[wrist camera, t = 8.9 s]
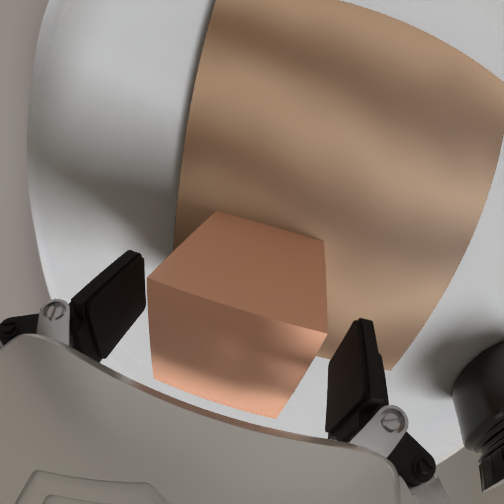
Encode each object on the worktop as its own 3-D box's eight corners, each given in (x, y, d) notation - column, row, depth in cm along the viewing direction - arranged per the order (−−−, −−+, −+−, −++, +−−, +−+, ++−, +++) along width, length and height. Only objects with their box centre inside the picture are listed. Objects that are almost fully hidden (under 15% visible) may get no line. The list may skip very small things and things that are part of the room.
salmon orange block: (216, 211, 14) (146, 277, 8) (323, 241, 13) (327, 333, 7) (203, 296, 16) (153, 378, 10) (292, 323, 16) (275, 418, 10)
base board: (226, -5, 9) (220, -14, 8) (498, 88, 8) (509, 87, 7) (178, 302, 19) (170, 312, 18) (388, 358, 17) (390, 370, 16)
